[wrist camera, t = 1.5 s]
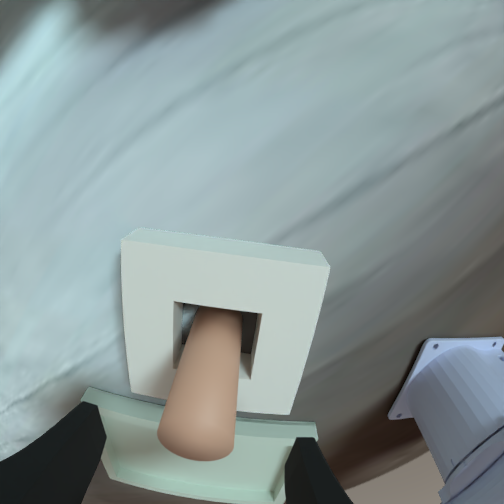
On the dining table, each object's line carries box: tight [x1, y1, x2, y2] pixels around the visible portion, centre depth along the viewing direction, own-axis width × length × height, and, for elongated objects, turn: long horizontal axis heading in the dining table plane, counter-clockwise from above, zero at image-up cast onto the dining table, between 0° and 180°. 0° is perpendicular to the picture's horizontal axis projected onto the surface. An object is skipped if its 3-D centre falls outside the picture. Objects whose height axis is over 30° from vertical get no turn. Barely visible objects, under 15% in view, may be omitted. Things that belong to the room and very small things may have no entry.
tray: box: [80, 387, 318, 504], centre depth 21 cm, size 18×13×2 cm
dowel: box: [157, 305, 243, 461], centre depth 14 cm, size 3×3×9 cm
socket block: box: [121, 227, 331, 415], centre depth 17 cm, size 10×10×2 cm
